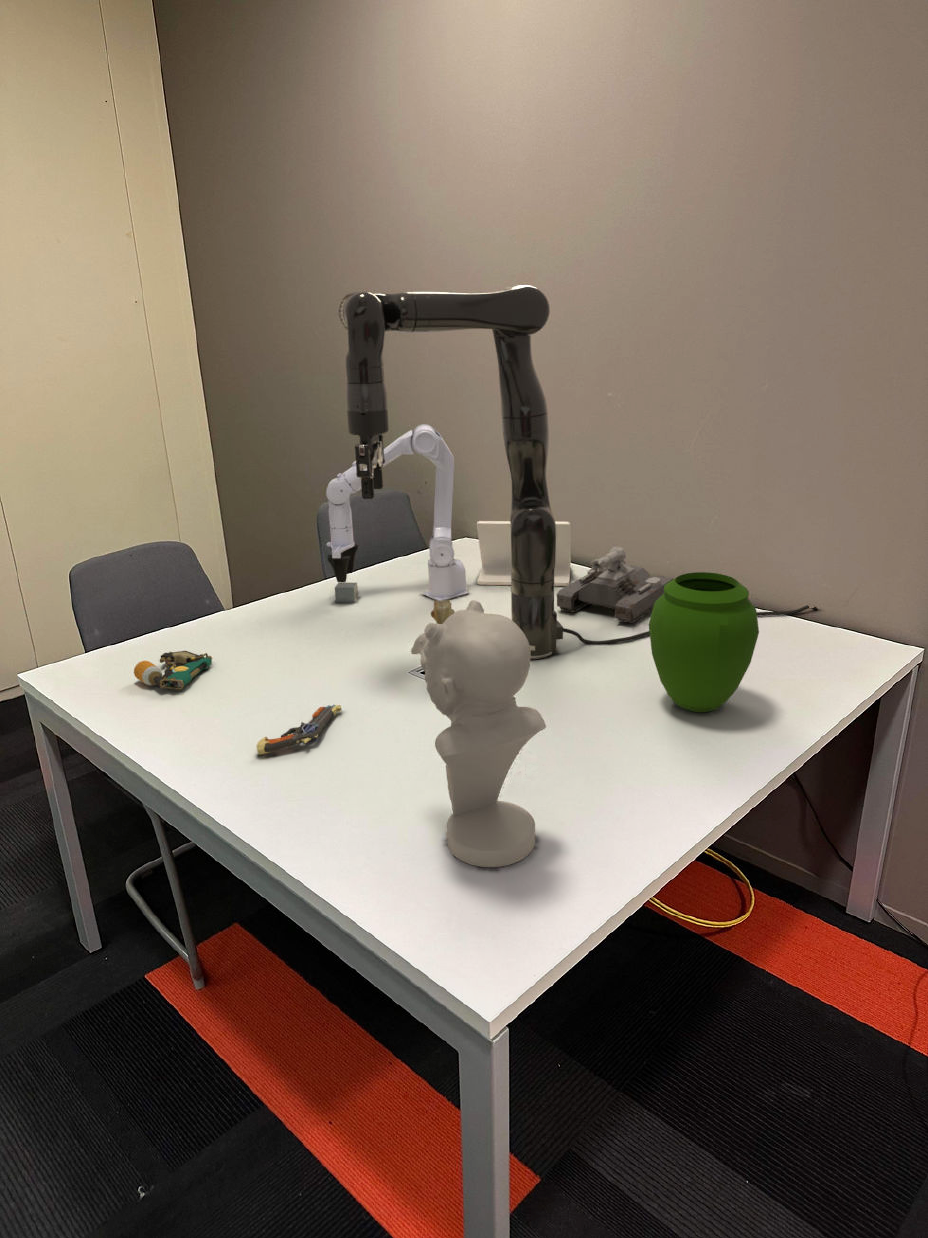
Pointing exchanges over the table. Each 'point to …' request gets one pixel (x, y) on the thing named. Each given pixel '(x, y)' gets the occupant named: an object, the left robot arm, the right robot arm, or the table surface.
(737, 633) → the vase
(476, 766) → the bust sculpture
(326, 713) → the toy gun
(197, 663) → the spray gun
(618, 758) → the table surface
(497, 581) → the tablet stand
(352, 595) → the block
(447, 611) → the sculpture
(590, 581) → the toy
